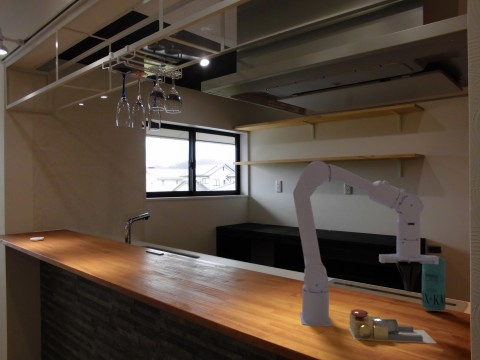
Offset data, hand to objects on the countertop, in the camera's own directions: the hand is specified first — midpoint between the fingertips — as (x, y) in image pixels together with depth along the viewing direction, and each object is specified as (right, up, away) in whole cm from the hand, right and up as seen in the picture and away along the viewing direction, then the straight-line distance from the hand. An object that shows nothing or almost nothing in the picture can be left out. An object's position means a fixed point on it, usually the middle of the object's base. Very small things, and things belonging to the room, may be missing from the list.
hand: (408, 290), depth 97 cm
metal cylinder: (-9, -9, -5) cm, 14 cm away
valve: (-13, -9, -5) cm, 16 cm away
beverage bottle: (+13, -11, +12) cm, 21 cm away
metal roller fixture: (-8, -10, -5) cm, 14 cm away
